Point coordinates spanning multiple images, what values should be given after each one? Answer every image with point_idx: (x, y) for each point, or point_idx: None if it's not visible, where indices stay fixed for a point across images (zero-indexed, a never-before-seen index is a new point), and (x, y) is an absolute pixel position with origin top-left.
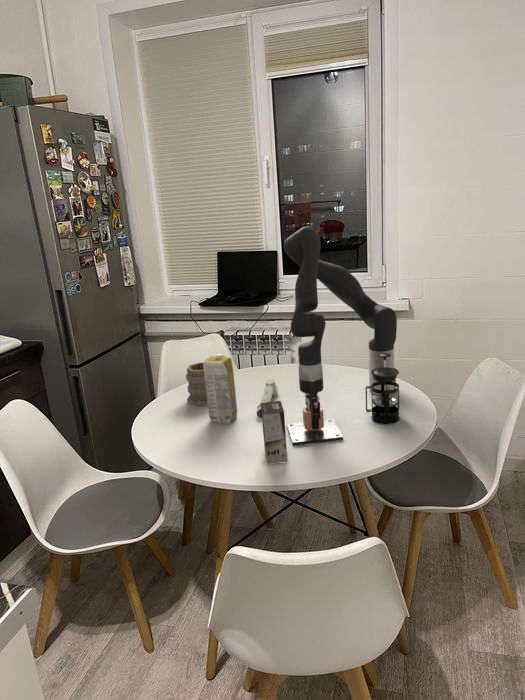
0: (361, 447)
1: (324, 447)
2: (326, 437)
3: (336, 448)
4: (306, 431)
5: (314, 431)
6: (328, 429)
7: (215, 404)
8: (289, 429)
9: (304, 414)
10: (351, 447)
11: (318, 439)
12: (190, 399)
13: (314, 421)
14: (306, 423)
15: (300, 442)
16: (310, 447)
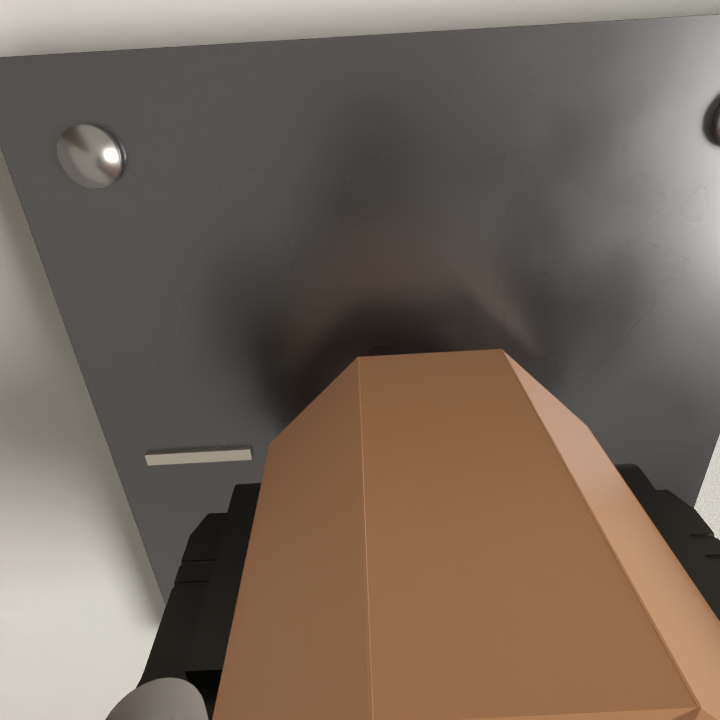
0: (58, 706)
1: (24, 474)
2: (174, 544)
3: (15, 565)
4: (393, 348)
5: None
6: None
7: None
8: (569, 49)
9: (357, 627)
10: (51, 657)
11: (116, 464)
12: None
13: (160, 658)
14: (327, 457)
15: (30, 211)
16: (3, 329)
